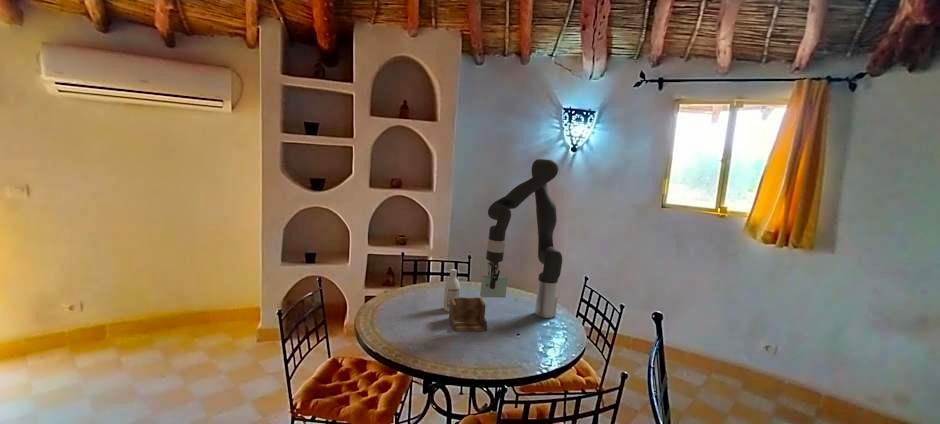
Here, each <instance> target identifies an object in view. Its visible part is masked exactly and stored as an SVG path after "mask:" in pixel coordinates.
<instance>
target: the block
mask: <svg viewBox="0 0 940 424" xmlns="http://www.w3.org/2000/svg"><path fill="white" fill-rule="evenodd" d="M494 278H495V277H494ZM490 279H491V276H489V275H481V282H480V283H481V284H480V294H479V296H480V297H482V298H506V296H507V287H508V286H507V285H508V277H507V276H502V275H499V277H498V280H497V281H496V283H495V289H490V281H491V280H490Z"/></svg>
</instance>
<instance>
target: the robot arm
mask: <svg viewBox="0 0 940 424" xmlns="http://www.w3.org/2000/svg"><path fill="white" fill-rule="evenodd" d="M558 173H559V166H558V163H557V162H556V161H555V160H552V159H543V158H541V159H540V158H538V159H535V160H534V161H533V162H532V165H531V178H528V179H527V180H526V181H523V182H522V183H519V184H517V185H516V186H515V187H514V188H512V189H511V190H510V191H509V192H508V193H507V194H506V195H505V196H503V197H501V198H499V199H497V200H495V201H494V202H493V203H492V204H490V206H489V208H488V209H487V215H488V217H489V218H490V219H492V220H494V221H496V223H495V225H491V226H489V232H488V240H487V244H486V245H487V246H486V255H485V256H486V257H485V259H486V260H487V276H491V279H490V280H491V281H490V289H495V283H496V281H497V280H498V277H499V276H500V272H501V271H500V265H499V263H501V262H503V261H504V254H505V246H506V245H505V240H506V232H507V229H508V226H509V225H510V222H511V218H512V212H511V209H513V210H515V209H516V208H518V207H519V206H520V205H521V204H522V203H523V202H524V201H526V199H527V198H529V197H530V196H531V195H532V194H533V193H534V197H535V210H536V211H535V213H536V223H537V225H536V226H537V236H538V237H537V238H538V244H537V245H538V246H537V259H538V261H539V262H540V263H541V264H542V265H543V268H542V272H540V273H539V274H538V279H537V291H536V299H535V308H534V309H535V310H534V314H535V316H536V317H540V318H542V319H543V318H545V319H551V318H553V317H554V318H555V317H556V315H557V307H558V296H557V292H558V282H559V278H560V276H561V271H562V265H563V255H562V252H560V251H559V250H557V249H556V248H555V247H554V239H553V238H554V237H553V235H554V231H555V228H556V224H557V220H558V219H557V218H558V217H557V206H556V203H555V201H554V200H553V197H552V196H551V193H550V191H549V188H548V183H549V182H551V181H552V180H554V179H555V178H556V177H557V175H558ZM494 277H495V278H494Z"/></svg>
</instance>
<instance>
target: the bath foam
mask: <svg viewBox="0 0 940 424" xmlns="http://www.w3.org/2000/svg"><path fill="white" fill-rule="evenodd" d="M449 271H450V273H449V277H448V279H447V280H446V282H445V285H444V298H443V311H445V312H448V313H449V311H450V297H460V290H461V289H460V288H461V287H460V286H461V285H460V282H459V280H458V278H457V269H455V268H451V269H450V270H449Z"/></svg>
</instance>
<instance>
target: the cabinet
mask: <svg viewBox="0 0 940 424" xmlns="http://www.w3.org/2000/svg"><path fill="white" fill-rule="evenodd" d="M486 307H487V306H486V303H485V301H484V299H483V297H481V296H480V297H470V296H469V297H467V296H466V297H463V296H462V297H460V296H459V297H450V311H449V312H448V313H449V315H448V319H449V322H450V325H451V328H452V331H453V332H477V331H478V332H486V331H487V329H488V328H487V326H488V322H487V319H486V318H485V317H486Z"/></svg>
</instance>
